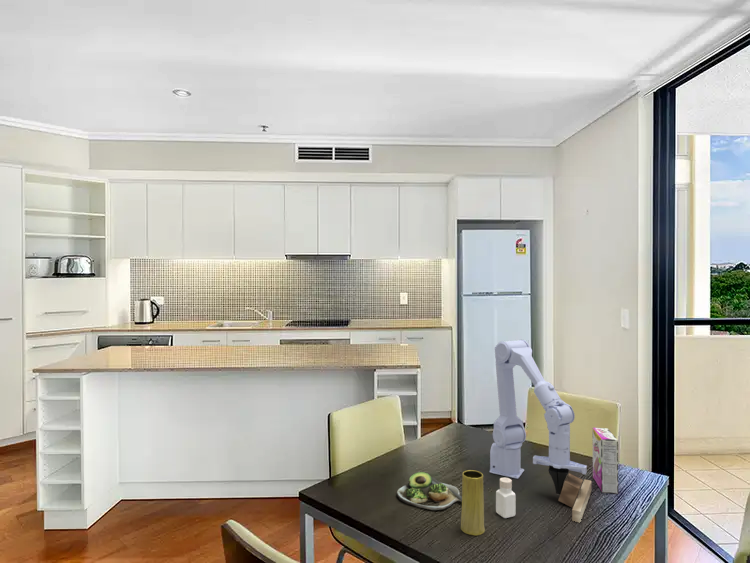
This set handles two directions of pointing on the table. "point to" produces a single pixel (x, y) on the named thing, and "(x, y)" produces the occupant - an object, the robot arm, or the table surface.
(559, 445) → the robot arm
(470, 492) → the vase
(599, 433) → the candy bar box
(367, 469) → the table surface
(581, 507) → the maple board
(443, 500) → the salad plate
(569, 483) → the walnut block
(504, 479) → the pepper shaker
